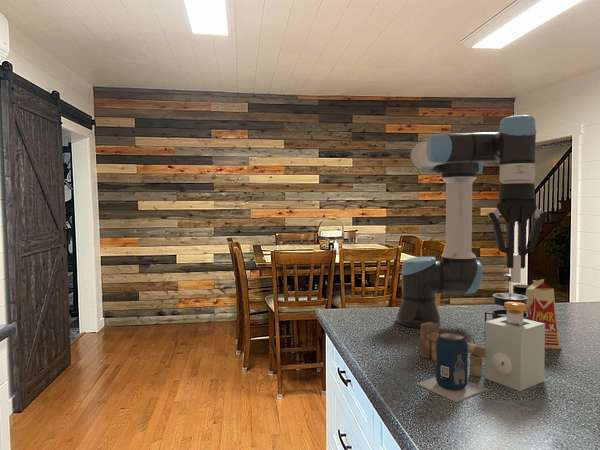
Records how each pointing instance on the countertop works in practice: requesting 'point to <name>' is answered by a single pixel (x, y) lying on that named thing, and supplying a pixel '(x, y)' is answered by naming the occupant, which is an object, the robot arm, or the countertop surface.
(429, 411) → the countertop surface
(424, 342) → the handrail
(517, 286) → the supplement container
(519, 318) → the gauge knob
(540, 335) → the cabinet
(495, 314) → the french press
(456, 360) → the soda can
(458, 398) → the mat
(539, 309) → the milk carton
